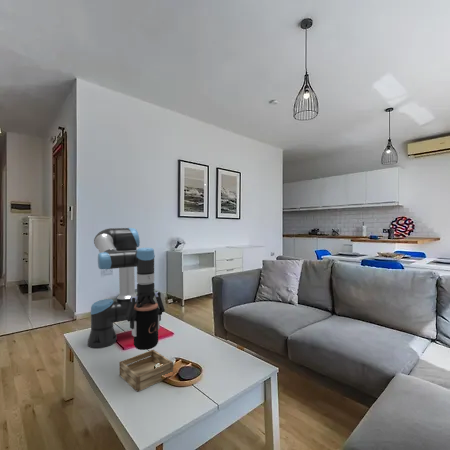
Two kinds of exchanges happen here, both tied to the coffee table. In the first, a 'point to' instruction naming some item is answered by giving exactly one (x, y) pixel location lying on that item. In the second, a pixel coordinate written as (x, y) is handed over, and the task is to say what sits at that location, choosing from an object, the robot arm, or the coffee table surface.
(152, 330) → the coffee jar
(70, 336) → the coffee table surface
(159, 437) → the coffee table surface
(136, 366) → the pine crate
